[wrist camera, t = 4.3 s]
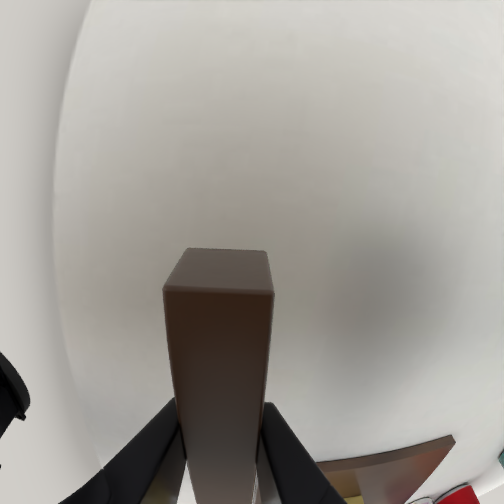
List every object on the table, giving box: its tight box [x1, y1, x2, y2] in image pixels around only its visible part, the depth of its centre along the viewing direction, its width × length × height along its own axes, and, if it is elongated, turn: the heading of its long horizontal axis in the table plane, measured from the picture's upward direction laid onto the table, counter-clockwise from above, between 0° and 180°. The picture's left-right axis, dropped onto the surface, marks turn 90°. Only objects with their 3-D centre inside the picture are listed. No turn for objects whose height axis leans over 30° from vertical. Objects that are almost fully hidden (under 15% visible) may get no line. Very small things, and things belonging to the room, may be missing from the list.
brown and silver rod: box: [162, 248, 275, 504], centre depth 10 cm, size 2×21×2 cm, turn 178°
